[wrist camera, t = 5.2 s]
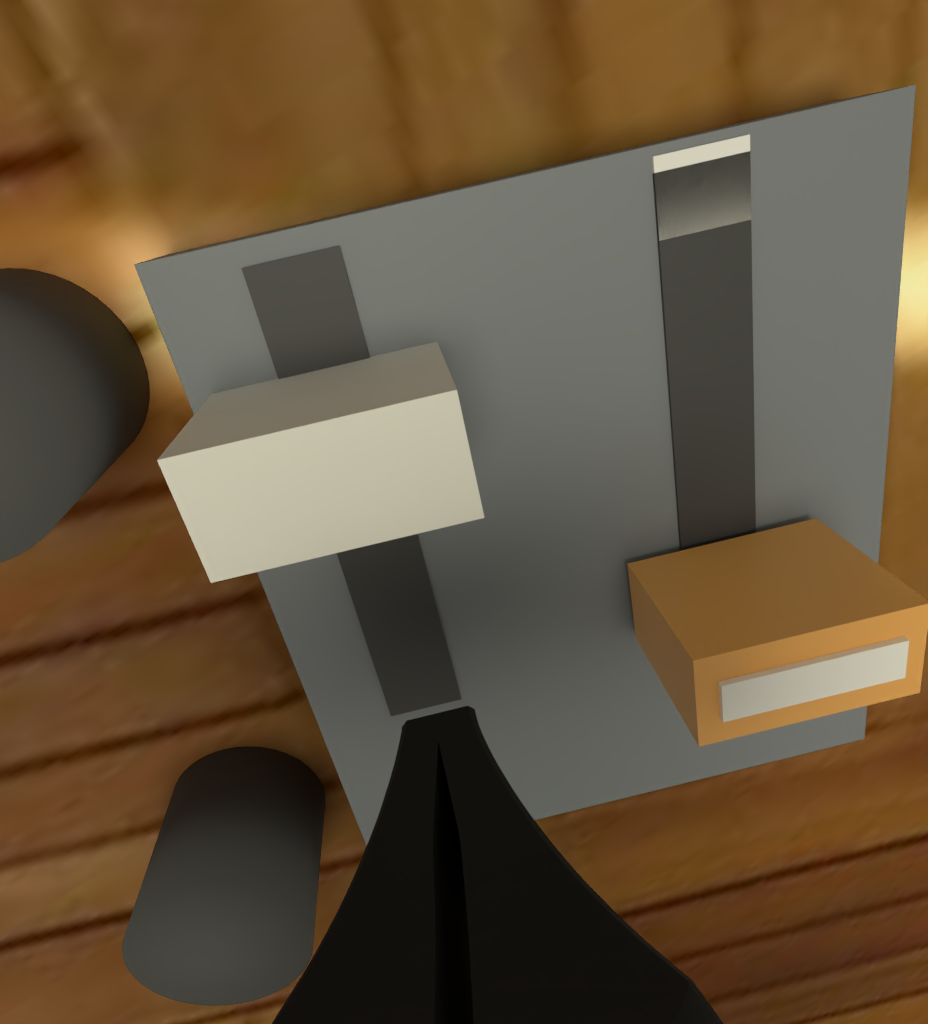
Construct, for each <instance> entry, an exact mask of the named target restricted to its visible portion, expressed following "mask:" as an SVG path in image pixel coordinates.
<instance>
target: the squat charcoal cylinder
mask: <svg viewBox="0 0 928 1024" xmlns="http://www.w3.org/2000/svg"><path fill="white" fill-rule="evenodd" d="M148 405H149V380H148V374H147V369H146V366H145V363H144V359H143V357H142V355H141V352H140V350H139V348H138V345H137V344H136V342H135V340H134V339H133V337H132V335H131V334H130V332H129V331H128V329H127V328H126V327H125V325H124V324H123V323H122V321H121V320H120V319H119V318H118V317H117V316H116V315H115V314H114V313H113V312H112V311H111V310H110V309H109V308H108V307H107V306H106V305H105V304H104V303H102V302H101V301H100V300H99V299H98V298H96V297H95V296H93V295H92V294H90V293H89V292H88V291H86V290H85V289H83V288H81V287H79V286H77V285H75V284H73V283H72V282H70V281H67V280H65V279H62V278H60V277H57V276H55V275H51V274H48V273H44V272H40V271H35V270H28V269H13V268H6V269H0V562H3V561H6V560H8V559H11V558H13V557H15V556H18V555H19V554H21V553H23V552H25V551H26V550H28V549H30V548H31V547H33V546H34V545H35V544H36V543H38V542H39V541H40V540H42V539H43V538H44V537H45V536H46V535H47V533H48V532H49V531H50V530H51V529H52V528H53V527H54V526H55V525H56V524H57V523H58V522H59V521H60V520H61V518H62V517H63V516H64V515H65V514H66V513H67V512H68V511H69V510H70V509H71V508H72V507H73V506H74V505H75V503H76V502H77V501H78V500H79V499H80V498H81V497H82V496H83V495H84V494H85V493H86V492H87V491H88V490H89V488H90V487H91V486H92V485H93V484H94V483H95V482H96V481H97V480H98V479H99V478H100V477H101V476H102V474H103V473H104V472H105V471H106V470H107V469H108V468H109V467H110V466H111V465H112V464H113V463H114V462H115V461H116V459H117V458H118V457H119V456H120V455H121V454H122V453H123V452H124V451H125V450H126V449H127V448H128V447H129V446H130V444H131V443H132V442H133V441H134V440H135V438H136V437H137V435H138V434H139V432H140V430H141V428H142V426H143V424H144V421H145V418H146V415H147V411H148Z"/></svg>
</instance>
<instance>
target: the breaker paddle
mask: <svg viewBox="0 0 928 1024" xmlns="http://www.w3.org/2000/svg"><path fill="white" fill-rule="evenodd" d="M627 565H628V574H629V582H630V591H631V600H632V609H633V618H634V626H635V635H636V639H637V641H638V643H639V645H640V646H641V648H642V650H643V652H644V653H645V655H646V657H647V658H648V660H649V662H650V664H651V665H652V667H653V669H654V670H655V672H656V674H657V676H658V677H659V679H660V681H661V682H662V684H663V686H664V688H665V689H666V691H667V693H668V694H669V696H670V698H671V700H672V701H673V703H674V705H675V707H676V708H677V710H678V712H679V713H680V715H681V717H682V719H683V720H684V722H685V724H686V725H687V727H688V729H689V731H690V732H691V734H692V736H693V737H694V739H695V741H696V743H697V744H698V746H699V747H700V746H704V745H708V744H713V743H717V742H721V741H725V740H729V739H733V738H737V737H741V736H745V735H749V734H753V733H757V732H761V731H765V730H770V729H774V728H778V727H782V726H786V725H790V724H794V723H798V722H802V721H806V720H810V719H814V718H818V717H822V716H827V715H831V714H835V713H839V712H843V711H847V710H851V709H855V708H859V707H863V706H867V705H871V704H875V703H880V702H884V701H888V700H892V699H896V698H900V697H904V696H908V695H912V694H916V693H920V687H921V679H922V670H923V662H924V654H925V646H926V638H927V630H928V601H927V600H926V599H925V598H923V597H922V596H921V595H919V594H918V593H917V592H915V591H914V590H912V589H911V588H910V587H908V586H907V585H906V584H904V583H903V582H902V581H900V580H899V579H898V578H896V577H895V576H894V575H892V574H891V573H890V572H888V571H887V570H886V569H884V568H883V567H881V566H880V565H879V564H877V563H876V562H875V561H873V560H872V559H871V558H869V557H868V556H867V555H865V554H864V553H863V552H861V551H860V550H859V549H857V548H856V547H854V546H853V545H852V544H850V543H849V542H848V541H846V540H845V539H844V538H842V537H841V536H840V535H838V534H837V533H836V532H834V531H833V530H832V529H830V528H829V527H828V526H826V525H825V524H823V523H822V522H821V521H819V520H818V519H817V518H815V519H811V520H807V521H803V522H798V523H794V524H790V525H786V526H782V527H778V528H773V529H769V530H765V531H761V532H757V533H753V534H749V535H744V536H740V537H736V538H732V539H728V540H724V541H719V542H715V543H711V544H707V545H703V546H699V547H694V548H690V549H686V550H682V551H678V552H674V553H670V554H665V555H661V556H657V557H653V558H649V559H645V560H640V561H636V562H632V563H628V564H627Z"/></svg>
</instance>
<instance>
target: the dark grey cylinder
mask: <svg viewBox="0 0 928 1024" xmlns="http://www.w3.org/2000/svg"><path fill="white" fill-rule="evenodd" d="M324 809H325V794H324V790H323V787H322V784H321V782H320V780H319V778H318V777H317V776H316V774H315V773H314V772H313V771H312V770H311V769H310V768H309V767H308V766H307V765H305V764H304V763H303V762H301V761H300V760H298V759H296V758H295V757H293V756H291V755H288V754H286V753H283V752H280V751H277V750H273V749H268V748H262V747H235V748H229V749H224V750H221V751H217V752H214V753H212V754H209V755H207V756H205V757H203V758H201V759H199V760H198V761H196V762H195V763H193V764H192V765H191V766H190V767H189V768H188V769H187V770H185V771H184V773H183V774H182V775H181V777H180V778H179V780H178V782H177V783H176V785H175V788H174V791H173V794H172V797H171V800H170V803H169V806H168V809H167V812H166V815H165V818H164V821H163V824H162V827H161V830H160V833H159V836H158V839H157V841H156V844H155V847H154V850H153V853H152V856H151V859H150V862H149V865H148V868H147V871H146V874H145V877H144V880H143V883H142V886H141V889H140V892H139V895H138V898H137V900H136V903H135V906H134V909H133V912H132V915H131V918H130V921H129V924H128V927H127V930H126V933H125V936H124V939H123V945H122V953H123V959H124V961H125V964H126V966H127V968H128V970H129V971H130V973H131V974H132V975H133V976H134V977H135V979H137V980H138V981H139V982H140V983H141V984H142V985H144V986H145V987H147V988H148V989H150V990H151V991H153V992H155V993H157V994H159V995H162V996H164V997H167V998H169V999H173V1000H176V1001H180V1002H185V1003H190V1004H197V1005H215V1006H216V1005H231V1004H239V1003H244V1002H249V1001H253V1000H256V999H260V998H263V997H265V996H268V995H270V994H273V993H275V992H277V991H279V990H281V989H282V988H284V987H285V986H287V985H289V984H290V983H291V982H292V981H294V980H295V979H296V978H297V977H298V976H299V975H300V974H301V973H302V972H303V970H304V969H305V967H306V966H307V964H308V962H309V960H310V958H311V954H312V951H313V939H314V927H315V915H316V904H317V892H318V880H319V868H320V856H321V845H322V833H323V821H324Z"/></svg>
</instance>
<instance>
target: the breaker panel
mask: <svg viewBox="0 0 928 1024" xmlns="http://www.w3.org/2000/svg"><path fill="white" fill-rule="evenodd" d="M915 88H916V85H912V86H907V87H902V88H897V89H892V90H887V91H882V92H877V93H872V94H867V95H862V96H857V97H852V98H847V99H842V100H837V101H833V102H828V103H824V104H820V105H815V106H811V107H806V108H802V109H798V110H793V111H789V112H785V113H780V114H776V115H772V116H767V117H763V118H759V119H754V120H750V121H746V122H741V123H737V124H733V125H728V126H724V127H720V128H715V129H711V130H707V131H702V132H698V133H694V134H689V135H685V136H680V137H676V138H672V139H667V140H663V141H659V142H654V143H650V144H646V145H641V146H637V147H633V148H628V149H624V150H620V151H615V152H611V153H607V154H602V155H598V156H594V157H589V158H585V159H581V160H576V161H572V162H567V163H563V164H559V165H554V166H550V167H546V168H541V169H537V170H533V171H528V172H524V173H520V174H515V175H511V176H507V177H502V178H498V179H494V180H489V181H485V182H481V183H476V184H472V185H468V186H463V187H459V188H455V189H450V190H446V191H441V192H437V193H433V194H428V195H424V196H420V197H415V198H411V199H407V200H402V201H398V202H394V203H389V204H385V205H381V206H376V207H372V208H368V209H363V210H359V211H355V212H350V213H346V214H342V215H337V216H333V217H329V218H324V219H320V220H315V221H311V222H307V223H302V224H298V225H294V226H289V227H285V228H281V229H276V230H272V231H268V232H263V233H259V234H255V235H250V236H246V237H242V238H237V239H233V240H229V241H224V242H220V243H216V244H211V245H207V246H203V247H198V248H194V249H189V250H185V251H181V252H176V253H172V254H168V255H165V256H161V257H158V258H155V259H151V260H148V261H145V262H141V263H138V264H135V268H136V270H137V273H138V275H139V278H140V280H141V283H142V285H143V288H144V290H145V293H146V295H147V298H148V300H149V303H150V305H151V308H152V310H153V313H154V315H155V318H156V320H157V323H158V325H159V328H160V330H161V333H162V335H163V338H164V340H165V343H166V345H167V348H168V350H169V353H170V355H171V358H172V360H173V363H174V365H175V368H176V370H177V373H178V375H179V378H180V380H181V383H182V385H183V388H184V390H185V393H186V395H187V398H188V400H189V403H190V405H191V408H192V410H193V413H194V416H193V417H192V418H191V419H190V420H189V422H188V423H187V424H186V425H185V427H184V428H183V429H182V430H181V431H180V433H179V434H178V435H177V436H176V438H175V439H174V440H173V441H172V442H171V444H170V445H169V446H168V447H167V449H166V450H165V451H164V452H163V453H162V455H161V456H160V457H159V458H158V460H157V461H158V464H159V466H160V468H161V470H162V473H163V475H164V477H165V480H166V482H167V484H168V486H169V489H170V491H171V493H172V495H173V498H174V500H175V502H176V505H177V507H178V509H179V511H180V514H181V516H182V518H183V521H184V523H185V525H186V527H187V530H188V532H189V534H190V536H191V539H192V541H193V543H194V546H195V548H196V550H197V552H198V555H199V557H200V559H201V562H202V564H203V566H204V568H205V571H206V573H207V575H208V577H209V580H210V582H211V583H213V582H217V581H222V580H226V579H230V578H234V577H238V576H243V575H247V574H251V573H255V572H257V573H258V575H259V578H260V580H261V583H262V585H263V588H264V590H265V593H266V595H267V598H268V600H269V603H270V605H271V608H272V610H273V613H274V615H275V618H276V620H277V623H278V625H279V628H280V630H281V633H282V635H283V638H284V640H285V643H286V645H287V648H288V650H289V653H290V655H291V658H292V660H293V663H294V665H295V668H296V670H297V673H298V675H299V678H300V680H301V683H302V685H303V688H304V690H305V693H306V695H307V698H308V700H309V703H310V705H311V708H312V710H313V713H314V715H315V718H316V720H317V723H318V725H319V728H320V730H321V733H322V735H323V738H324V740H325V743H326V745H327V748H328V750H329V753H330V755H331V758H332V760H333V763H334V765H335V768H336V770H337V773H338V775H339V778H340V780H341V783H342V785H343V788H344V790H345V793H346V795H347V798H348V800H349V803H350V805H351V808H352V810H353V813H354V815H355V818H356V820H357V823H358V825H359V828H360V830H361V833H362V835H363V838H364V840H365V843H366V845H367V844H368V842H369V839H370V836H371V834H372V831H373V829H374V826H375V823H376V821H377V818H378V815H379V812H380V809H381V806H382V803H383V800H384V797H385V793H386V790H387V787H388V784H389V781H390V777H391V774H392V770H393V767H394V763H395V759H396V755H397V751H398V746H399V742H400V737H401V731H402V726H403V725H404V723H405V722H406V721H407V720H411V719H415V718H419V717H423V716H427V715H432V714H436V713H440V712H444V711H448V710H452V709H456V708H460V707H464V706H470V707H472V708H474V709H475V712H476V716H477V720H478V724H479V727H480V729H481V732H482V734H483V736H484V738H485V741H486V743H487V745H488V747H489V749H490V751H491V753H492V755H493V757H494V758H495V760H496V762H497V764H498V766H499V767H500V769H501V771H502V772H503V774H504V776H505V777H506V779H507V780H508V782H509V784H510V785H511V787H512V789H513V790H514V792H515V793H516V795H517V796H518V798H519V799H520V801H521V802H522V804H523V805H524V806H525V808H526V809H527V811H528V812H529V813H530V815H531V816H532V818H533V819H534V820H537V819H541V818H545V817H549V816H553V815H557V814H561V813H565V812H569V811H573V810H578V809H582V808H586V807H590V806H594V805H598V804H602V803H606V802H610V801H614V800H618V799H622V798H626V797H630V796H634V795H638V794H642V793H647V792H651V791H655V790H659V789H663V788H667V787H671V786H675V785H679V784H683V783H687V782H691V781H695V780H699V779H703V778H707V777H711V776H716V775H720V774H724V773H728V772H732V771H736V770H740V769H744V768H748V767H752V766H756V765H760V764H764V763H768V762H772V761H776V760H780V759H785V758H789V757H793V756H797V755H801V754H805V753H809V752H813V751H817V750H821V749H825V748H829V747H833V746H837V745H841V744H845V743H849V742H854V741H858V740H862V739H864V738H865V726H866V713H867V706H863V707H859V708H855V709H851V710H847V711H843V712H839V713H835V714H831V715H827V716H822V717H818V718H814V719H810V720H806V721H802V722H798V723H794V724H790V725H786V726H782V727H778V728H774V729H770V730H765V731H761V732H757V733H753V734H749V735H745V736H741V737H737V738H733V739H729V740H725V741H721V742H717V743H713V744H708V745H704V746H700V747H699V746H698V744H697V743H696V741H695V739H694V737H693V736H692V734H691V732H690V731H689V729H688V727H687V725H686V724H685V722H684V720H683V719H682V717H681V715H680V713H679V712H678V710H677V708H676V707H675V705H674V703H673V701H672V700H671V698H670V696H669V694H668V693H667V691H666V689H665V688H664V686H663V684H662V682H661V681H660V679H659V677H658V676H657V674H656V672H655V670H654V669H653V667H652V665H651V664H650V662H649V660H648V658H647V657H646V655H645V653H644V652H643V650H642V648H641V646H640V645H639V643H638V641H637V639H636V635H635V626H634V618H633V609H632V600H631V591H630V582H629V574H628V565H627V564H628V563H632V562H636V561H640V560H645V559H649V558H653V557H657V556H661V555H665V554H670V553H674V552H678V551H682V550H686V549H690V548H694V547H699V546H703V545H707V544H711V543H715V542H719V541H724V540H728V539H732V538H736V537H740V536H744V535H749V534H753V533H757V532H761V531H765V530H769V529H773V528H778V527H782V526H786V525H790V524H794V523H798V522H803V521H807V520H811V519H815V518H817V519H818V520H819V521H821V522H822V523H823V524H825V525H826V526H828V527H829V528H830V529H832V530H833V531H834V532H836V533H837V534H838V535H840V536H841V537H842V538H844V539H845V540H846V541H848V542H849V543H850V544H852V545H853V546H854V547H856V548H857V549H859V550H860V551H861V552H863V553H864V554H865V555H867V556H868V557H869V558H871V559H872V560H873V561H875V562H876V563H877V564H878V560H879V547H880V534H881V522H882V509H883V496H884V483H885V471H886V458H887V445H888V433H889V420H890V407H891V394H892V382H893V369H894V356H895V343H896V331H897V318H898V305H899V292H900V280H901V267H902V254H903V241H904V229H905V216H906V203H907V190H908V178H909V165H910V152H911V139H912V127H913V114H914V101H915Z"/></svg>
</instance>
